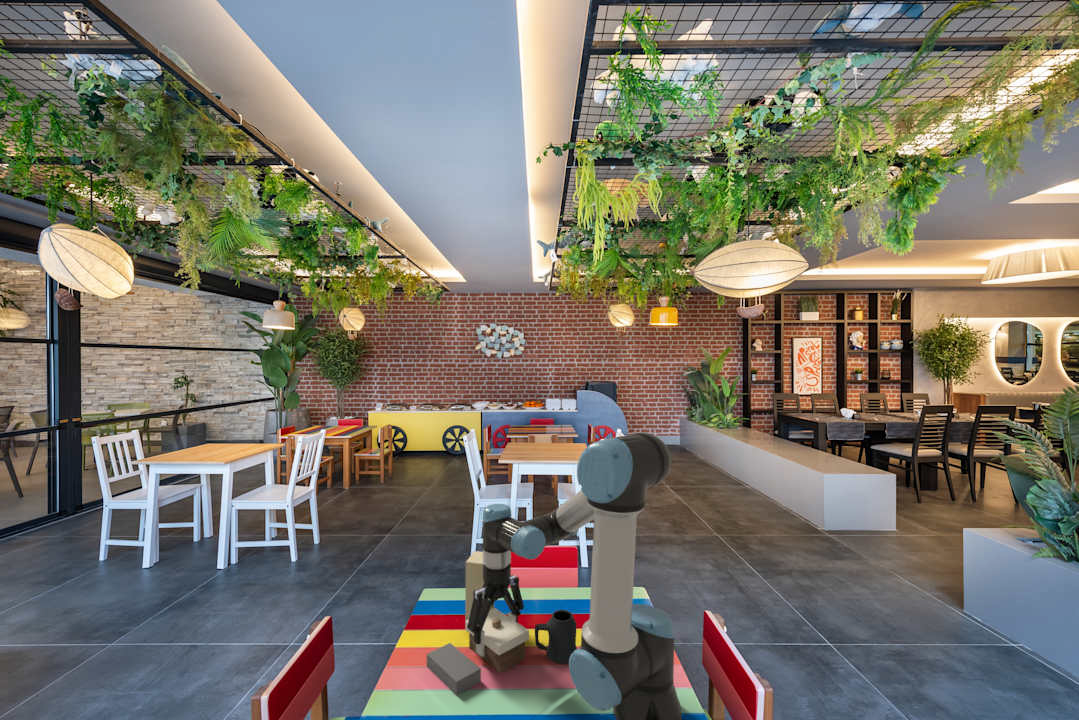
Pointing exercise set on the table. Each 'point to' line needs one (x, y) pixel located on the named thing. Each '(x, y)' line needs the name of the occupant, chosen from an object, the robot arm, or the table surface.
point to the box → (500, 656)
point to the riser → (453, 668)
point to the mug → (558, 636)
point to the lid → (502, 632)
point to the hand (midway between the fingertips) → (496, 645)
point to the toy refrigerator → (473, 579)
